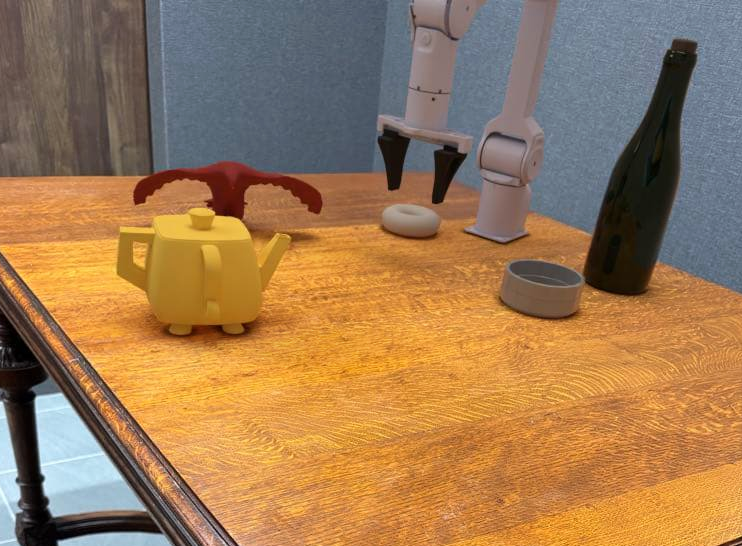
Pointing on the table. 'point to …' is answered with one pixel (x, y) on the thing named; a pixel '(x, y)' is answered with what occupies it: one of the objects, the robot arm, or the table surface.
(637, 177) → the wine bottle
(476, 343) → the table surface
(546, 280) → the pan
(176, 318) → the teapot
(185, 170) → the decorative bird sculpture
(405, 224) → the donut
